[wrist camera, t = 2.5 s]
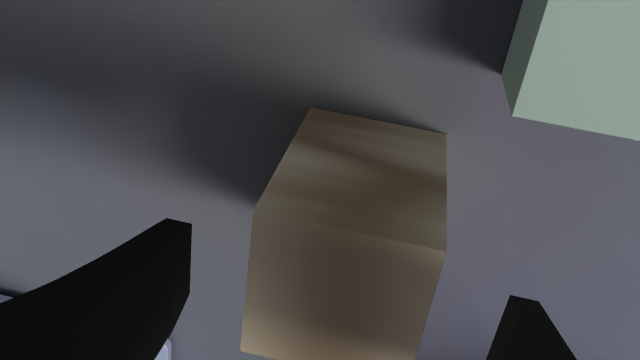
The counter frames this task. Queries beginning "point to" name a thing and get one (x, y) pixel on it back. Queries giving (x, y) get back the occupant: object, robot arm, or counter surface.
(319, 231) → the beech block
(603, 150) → the counter surface
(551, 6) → the sage base block
